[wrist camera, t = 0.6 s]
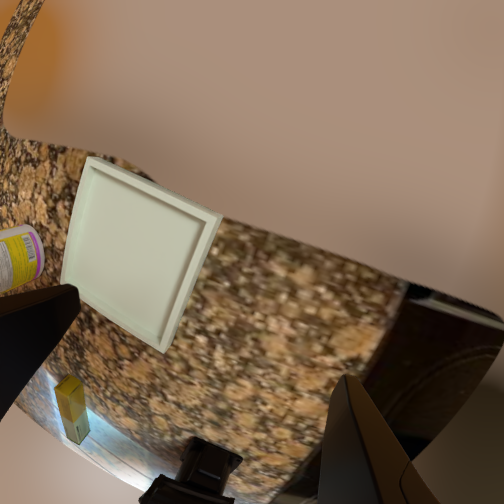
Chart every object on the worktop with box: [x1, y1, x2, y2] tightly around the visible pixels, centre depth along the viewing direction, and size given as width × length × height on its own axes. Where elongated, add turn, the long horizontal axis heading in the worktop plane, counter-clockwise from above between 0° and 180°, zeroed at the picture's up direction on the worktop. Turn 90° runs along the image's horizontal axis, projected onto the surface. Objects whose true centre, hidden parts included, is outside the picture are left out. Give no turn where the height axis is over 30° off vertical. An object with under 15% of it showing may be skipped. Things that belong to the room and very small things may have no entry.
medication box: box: [54, 374, 90, 445], centre depth 31 cm, size 12×3×4 cm, turn 165°
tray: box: [60, 157, 223, 353], centre depth 24 cm, size 13×13×2 cm
